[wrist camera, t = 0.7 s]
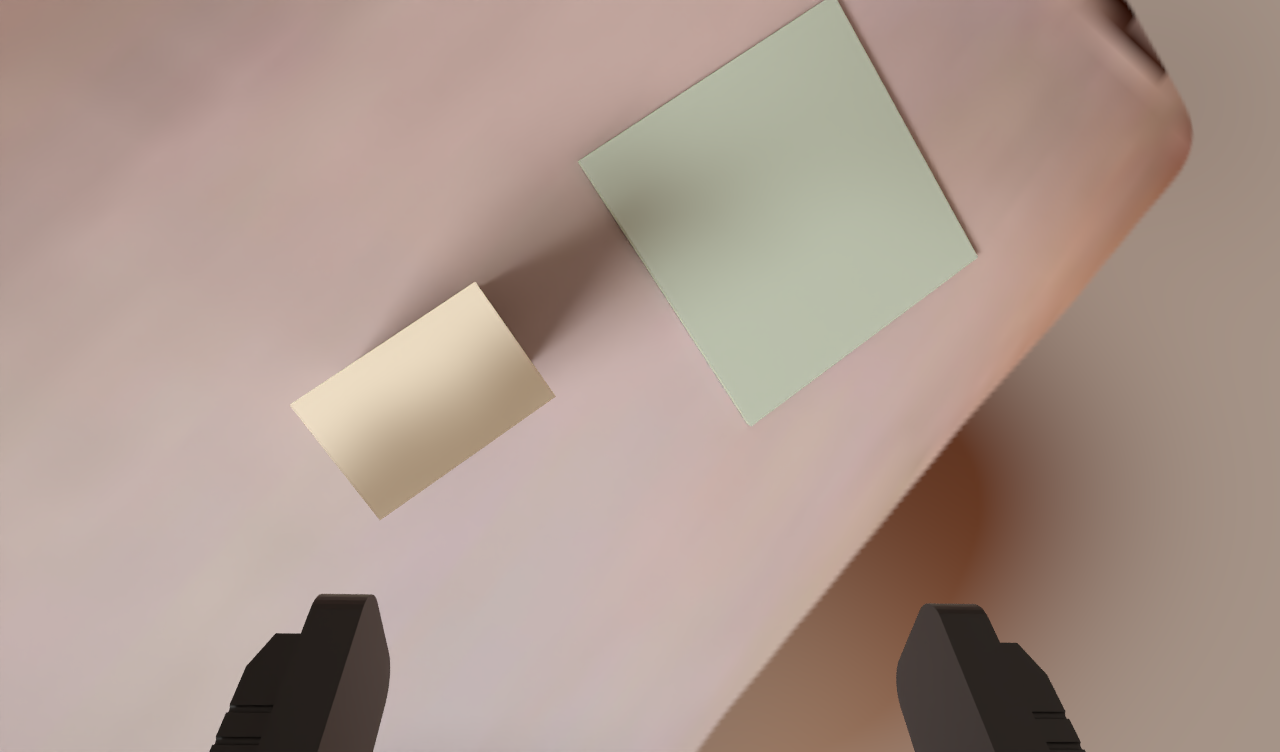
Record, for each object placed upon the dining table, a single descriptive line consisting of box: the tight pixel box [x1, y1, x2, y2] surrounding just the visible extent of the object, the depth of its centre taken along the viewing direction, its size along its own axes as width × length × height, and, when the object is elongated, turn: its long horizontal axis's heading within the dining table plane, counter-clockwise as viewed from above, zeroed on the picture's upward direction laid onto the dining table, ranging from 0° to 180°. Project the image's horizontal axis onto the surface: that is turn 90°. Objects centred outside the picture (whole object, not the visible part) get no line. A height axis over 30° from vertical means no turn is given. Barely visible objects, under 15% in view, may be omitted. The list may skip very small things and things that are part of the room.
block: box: [290, 282, 556, 520], centre depth 27 cm, size 4×6×11 cm, turn 124°
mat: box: [578, 0, 978, 426], centre depth 35 cm, size 14×14×1 cm
